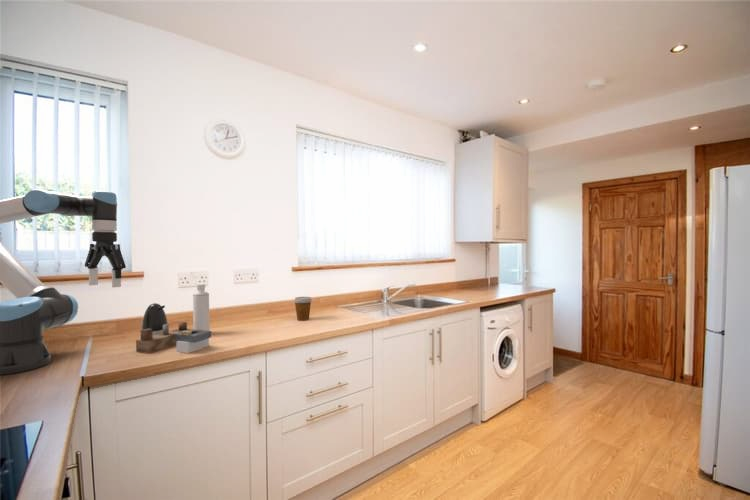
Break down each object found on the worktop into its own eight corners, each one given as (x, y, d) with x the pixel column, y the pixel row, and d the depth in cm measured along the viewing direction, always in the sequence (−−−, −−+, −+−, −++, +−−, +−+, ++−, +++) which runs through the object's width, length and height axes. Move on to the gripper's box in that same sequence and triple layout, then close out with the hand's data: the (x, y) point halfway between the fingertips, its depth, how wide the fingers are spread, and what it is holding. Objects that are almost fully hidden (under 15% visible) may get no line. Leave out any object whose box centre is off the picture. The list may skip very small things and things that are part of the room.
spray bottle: (191, 334, 158) (190, 280, 158) (206, 331, 163) (205, 279, 163) (196, 336, 154) (195, 281, 153) (212, 333, 159) (211, 280, 158)
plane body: (148, 353, 131) (148, 331, 131) (136, 351, 133) (135, 329, 133) (192, 339, 150) (192, 320, 149) (181, 337, 152) (180, 319, 152)
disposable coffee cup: (315, 318, 188) (315, 297, 188) (303, 322, 180) (303, 299, 180) (303, 316, 193) (302, 296, 193) (290, 320, 185) (290, 298, 185)
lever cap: (194, 342, 131) (194, 333, 130) (174, 340, 134) (173, 330, 134) (211, 337, 138) (211, 328, 138) (191, 335, 142) (191, 326, 142)
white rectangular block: (188, 353, 131) (187, 342, 130) (176, 351, 133) (176, 341, 133) (208, 345, 140) (208, 336, 140) (197, 344, 142) (197, 334, 142)
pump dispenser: (155, 340, 149) (155, 305, 148) (135, 339, 151) (135, 305, 151) (173, 334, 159) (173, 301, 158) (155, 333, 161) (154, 301, 161)
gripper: (136, 232, 131) (136, 286, 131) (94, 231, 140) (94, 283, 140) (116, 231, 124) (116, 289, 124) (73, 231, 133) (73, 285, 133)
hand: (104, 286), depth 132 cm, fingers open, 13 cm apart
